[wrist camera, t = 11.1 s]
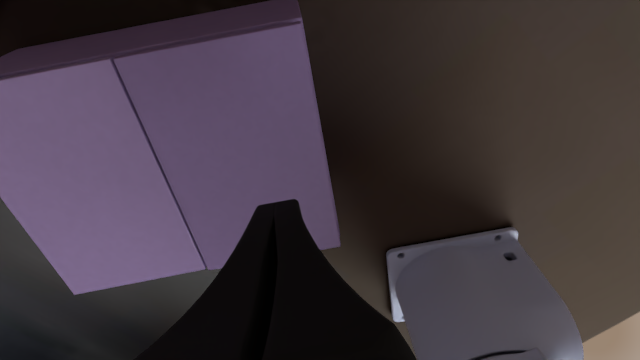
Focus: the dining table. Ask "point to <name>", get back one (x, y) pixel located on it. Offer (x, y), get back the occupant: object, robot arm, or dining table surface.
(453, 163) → the dining table surface
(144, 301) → the dining table surface
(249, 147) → the storage box
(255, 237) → the robot arm
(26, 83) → the flap
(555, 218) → the dining table surface
